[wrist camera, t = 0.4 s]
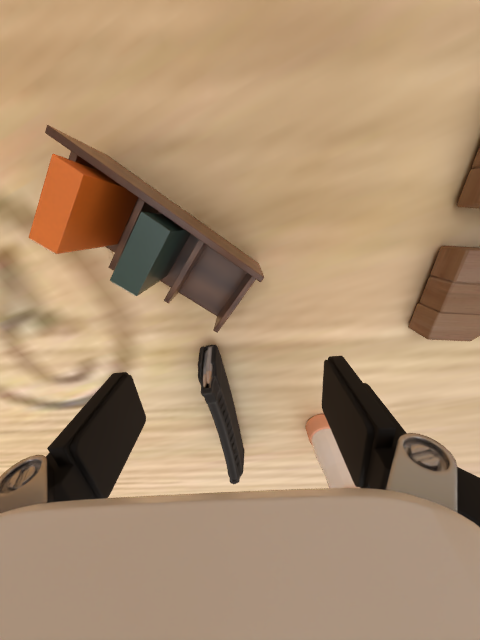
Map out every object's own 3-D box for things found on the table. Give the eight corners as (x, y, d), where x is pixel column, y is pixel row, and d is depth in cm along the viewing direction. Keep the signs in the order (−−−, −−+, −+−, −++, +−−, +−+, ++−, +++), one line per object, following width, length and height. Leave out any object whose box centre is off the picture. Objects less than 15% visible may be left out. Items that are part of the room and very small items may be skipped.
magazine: (246, 490, 48) (211, 429, 29) (231, 491, 48) (187, 432, 29) (242, 413, 61) (216, 337, 42) (231, 415, 62) (200, 339, 42)
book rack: (107, 155, 32) (46, 124, 22) (258, 263, 38) (264, 277, 28) (80, 229, 36) (18, 230, 26) (221, 316, 42) (214, 345, 32)
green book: (173, 215, 35) (140, 211, 24) (193, 229, 35) (170, 231, 24) (148, 265, 38) (108, 281, 27) (166, 276, 38) (135, 297, 27)
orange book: (121, 179, 33) (52, 153, 21) (140, 192, 33) (83, 174, 21) (99, 234, 36) (27, 239, 24) (117, 245, 36) (55, 255, 24)
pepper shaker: (329, 438, 54) (371, 541, 37) (301, 433, 54) (329, 535, 36) (341, 417, 52) (392, 517, 34) (311, 411, 51) (348, 510, 33)
